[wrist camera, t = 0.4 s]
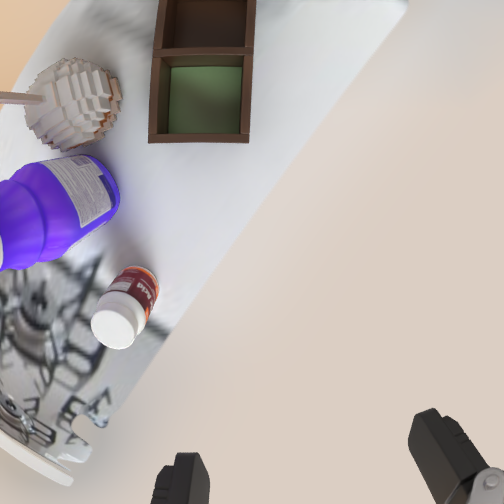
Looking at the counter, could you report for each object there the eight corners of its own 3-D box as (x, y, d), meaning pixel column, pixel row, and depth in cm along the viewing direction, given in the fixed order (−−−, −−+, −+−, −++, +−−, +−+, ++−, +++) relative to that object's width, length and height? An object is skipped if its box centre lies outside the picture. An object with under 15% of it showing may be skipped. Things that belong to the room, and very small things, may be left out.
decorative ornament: (49, 91, 22) (-58, 81, 9) (113, 55, 22) (20, 6, 8) (66, 157, 25) (-42, 186, 11) (132, 125, 25) (38, 122, 11)
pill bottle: (165, 301, 31) (147, 351, 24) (125, 307, 31) (99, 354, 24) (152, 260, 30) (127, 302, 22) (111, 267, 30) (78, 309, 22)
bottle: (56, 178, 26) (-73, 230, 10) (92, 141, 25) (-44, 163, 9) (95, 233, 28) (-12, 328, 12) (134, 200, 27) (26, 281, 11)
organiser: (180, -49, 18) (173, -72, 14) (257, -50, 18) (261, -75, 14) (162, 142, 26) (147, 143, 21) (246, 142, 26) (249, 143, 22)
